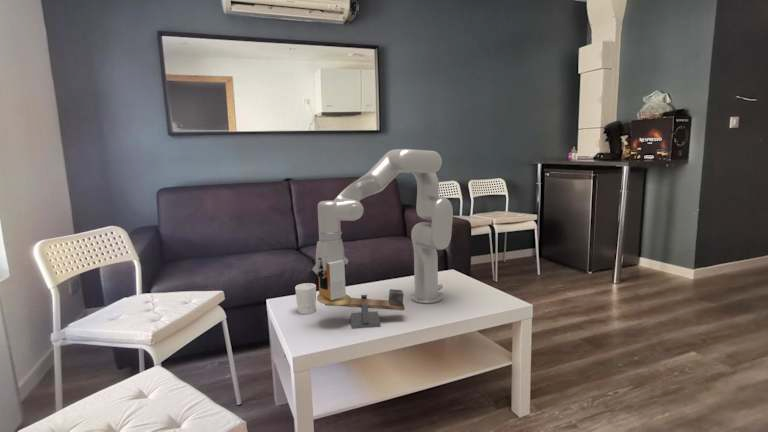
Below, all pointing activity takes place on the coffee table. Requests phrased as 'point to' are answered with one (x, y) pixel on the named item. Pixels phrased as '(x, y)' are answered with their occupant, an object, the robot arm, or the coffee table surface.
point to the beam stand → (365, 317)
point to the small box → (334, 281)
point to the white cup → (306, 298)
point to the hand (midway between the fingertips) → (332, 285)
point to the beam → (368, 301)
